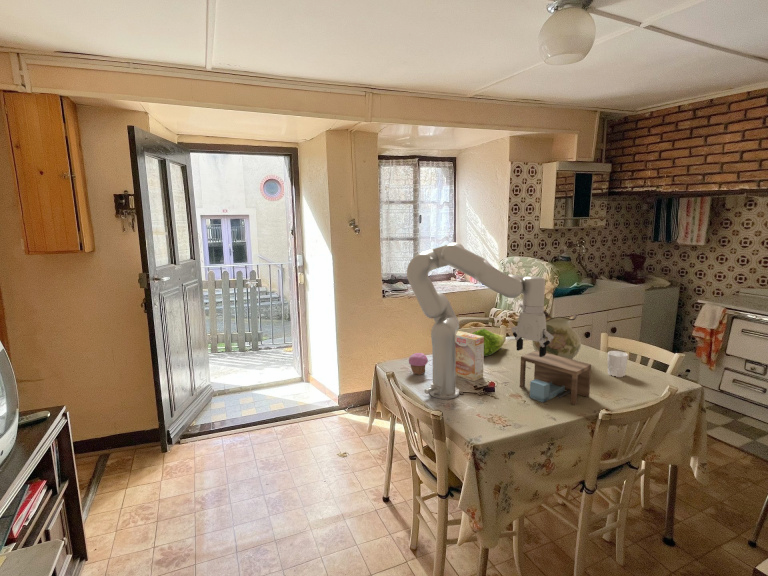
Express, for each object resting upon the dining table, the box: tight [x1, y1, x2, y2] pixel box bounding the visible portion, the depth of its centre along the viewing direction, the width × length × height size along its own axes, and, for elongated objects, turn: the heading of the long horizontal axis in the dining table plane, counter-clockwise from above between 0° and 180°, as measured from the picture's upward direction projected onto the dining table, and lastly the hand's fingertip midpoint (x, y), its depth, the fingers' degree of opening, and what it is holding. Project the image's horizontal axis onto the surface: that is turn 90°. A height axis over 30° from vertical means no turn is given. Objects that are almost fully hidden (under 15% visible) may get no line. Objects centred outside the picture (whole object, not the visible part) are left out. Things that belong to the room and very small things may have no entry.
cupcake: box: [408, 352, 429, 376], centre depth 195 cm, size 9×9×10 cm
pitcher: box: [531, 310, 582, 360], centre depth 207 cm, size 22×24×25 cm
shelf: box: [519, 350, 592, 406], centre depth 172 cm, size 12×24×14 cm, turn 39°
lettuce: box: [471, 328, 506, 357], centre depth 224 cm, size 14×24×15 cm
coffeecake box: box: [455, 330, 485, 382], centre depth 191 cm, size 15×7×20 cm, turn 42°
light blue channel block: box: [529, 379, 565, 403], centre depth 170 cm, size 16×6×7 cm, turn 129°
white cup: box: [607, 350, 629, 378], centre depth 189 cm, size 8×8×10 cm
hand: (530, 352), depth 160 cm, fingers open, 9 cm apart
